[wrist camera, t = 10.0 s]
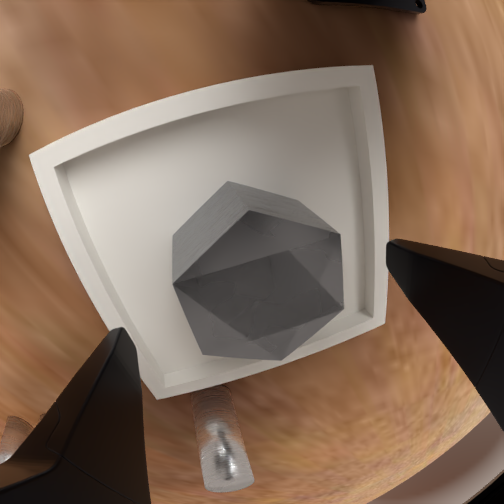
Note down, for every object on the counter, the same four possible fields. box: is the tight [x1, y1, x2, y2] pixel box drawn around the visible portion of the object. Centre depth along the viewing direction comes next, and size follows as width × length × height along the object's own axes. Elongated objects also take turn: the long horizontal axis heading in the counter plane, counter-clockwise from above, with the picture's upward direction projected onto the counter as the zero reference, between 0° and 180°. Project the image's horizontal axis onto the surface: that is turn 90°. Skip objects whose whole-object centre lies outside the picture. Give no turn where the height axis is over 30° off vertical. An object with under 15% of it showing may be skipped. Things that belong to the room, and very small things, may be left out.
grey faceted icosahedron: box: [172, 181, 344, 361], centre depth 11 cm, size 5×6×4 cm
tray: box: [29, 65, 389, 400], centre depth 12 cm, size 13×13×2 cm
